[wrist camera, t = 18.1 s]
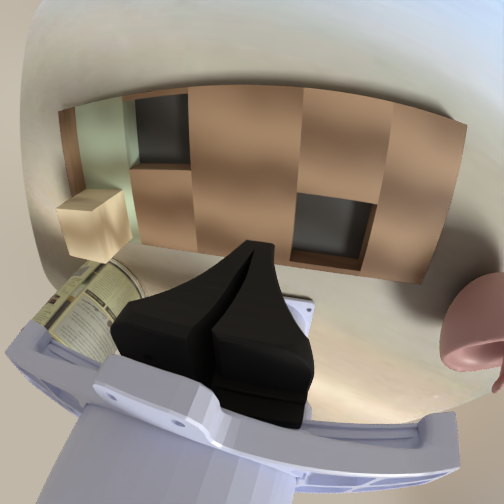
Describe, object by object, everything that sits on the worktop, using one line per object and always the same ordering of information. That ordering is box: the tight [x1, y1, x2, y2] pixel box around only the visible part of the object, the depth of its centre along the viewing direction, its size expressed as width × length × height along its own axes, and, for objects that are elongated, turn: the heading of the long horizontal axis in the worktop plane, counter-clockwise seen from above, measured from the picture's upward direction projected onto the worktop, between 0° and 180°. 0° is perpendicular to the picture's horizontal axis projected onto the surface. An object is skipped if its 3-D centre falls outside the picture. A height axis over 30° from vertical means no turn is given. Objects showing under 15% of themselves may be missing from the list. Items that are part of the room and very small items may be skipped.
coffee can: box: [21, 258, 145, 363], centre depth 28 cm, size 10×10×14 cm
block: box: [56, 189, 132, 264], centre depth 22 cm, size 5×5×4 cm
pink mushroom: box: [440, 272, 504, 393], centre depth 17 cm, size 12×12×12 cm
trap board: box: [58, 85, 467, 284], centre depth 20 cm, size 14×33×4 cm, turn 89°
